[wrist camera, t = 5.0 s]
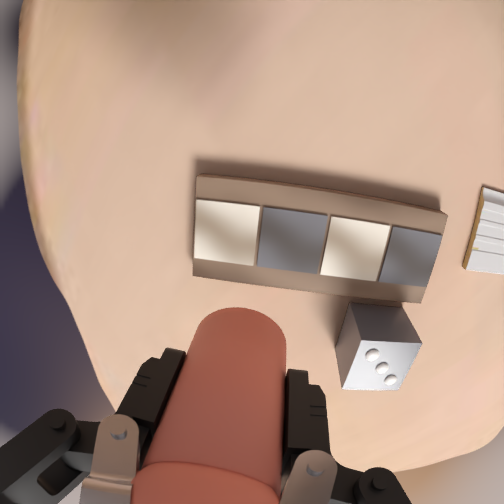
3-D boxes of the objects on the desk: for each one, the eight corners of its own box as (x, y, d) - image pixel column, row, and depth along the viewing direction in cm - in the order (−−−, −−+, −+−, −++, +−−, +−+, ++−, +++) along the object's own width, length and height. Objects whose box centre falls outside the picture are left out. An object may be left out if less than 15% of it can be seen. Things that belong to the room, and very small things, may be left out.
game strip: (201, 173, 26) (195, 176, 24) (440, 210, 24) (448, 216, 23) (196, 268, 29) (192, 276, 27) (415, 295, 28) (421, 304, 26)
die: (349, 302, 29) (361, 341, 23) (402, 307, 28) (422, 344, 23) (334, 349, 31) (342, 390, 25) (384, 352, 31) (398, 391, 25)
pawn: (189, 292, 12) (62, 552, 2) (303, 310, 12) (307, 606, 2) (188, 371, 14) (117, 573, 4) (282, 387, 14) (266, 603, 4)
